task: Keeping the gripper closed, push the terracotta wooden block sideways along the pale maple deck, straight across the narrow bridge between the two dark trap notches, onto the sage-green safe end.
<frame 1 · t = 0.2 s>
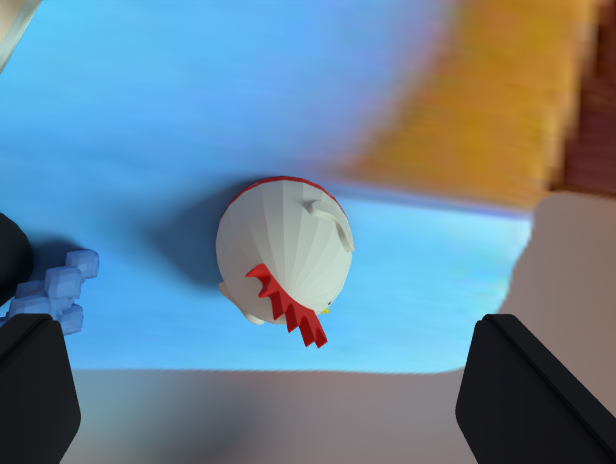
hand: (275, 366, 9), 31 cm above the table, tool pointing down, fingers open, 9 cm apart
kitchen timer: (284, 239, 41), on the table
grapes: (81, 276, 41), on the table
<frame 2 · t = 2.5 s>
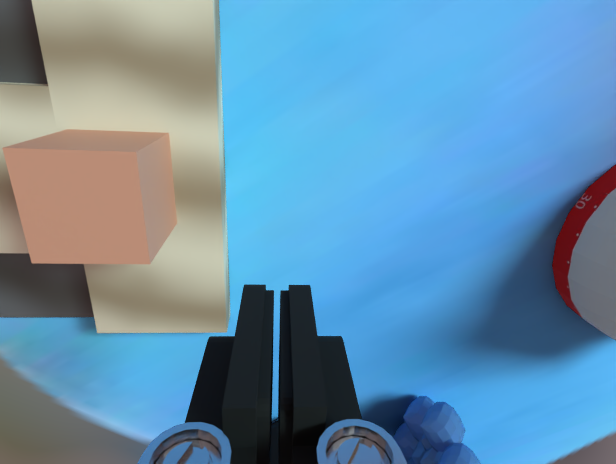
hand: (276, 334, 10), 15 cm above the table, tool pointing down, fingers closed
block: (125, 178, 21), point 2 cm above the table, touching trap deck
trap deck: (10, 166, 22), on the table
grapes: (416, 423, 32), on the table
coffee jar: (307, 451, 33), on the table
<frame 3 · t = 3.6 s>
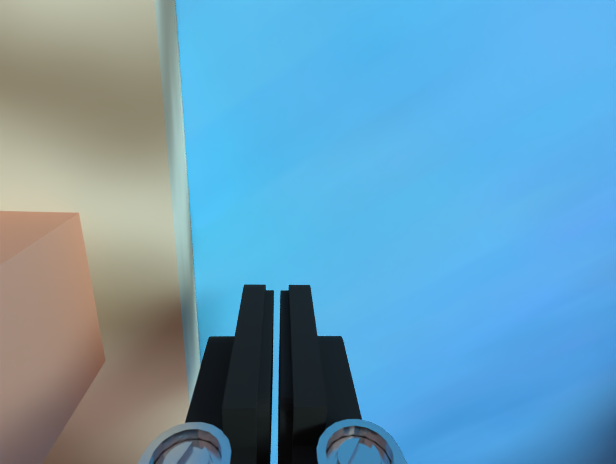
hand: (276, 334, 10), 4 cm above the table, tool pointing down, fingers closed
block: (4, 292, 11), point 2 cm above the table, touching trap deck
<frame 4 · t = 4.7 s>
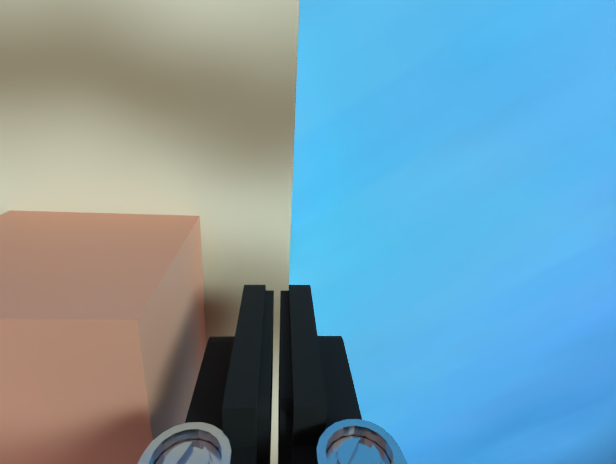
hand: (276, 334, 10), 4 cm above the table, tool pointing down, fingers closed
block: (118, 293, 11), point 2 cm above the table, touching gripper
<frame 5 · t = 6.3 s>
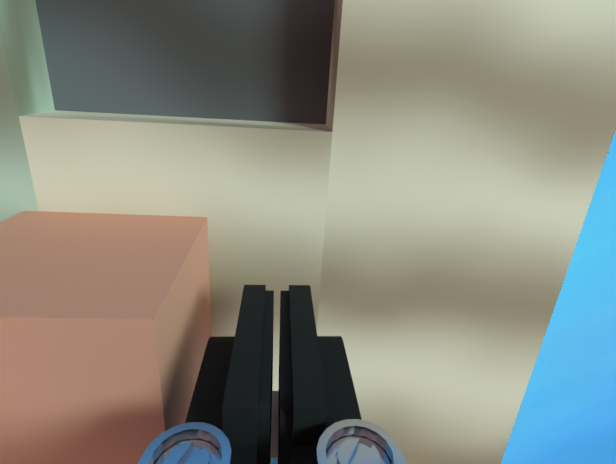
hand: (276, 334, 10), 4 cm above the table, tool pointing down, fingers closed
block: (126, 291, 12), point 2 cm above the table, touching gripper
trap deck: (202, 249, 14), on the table
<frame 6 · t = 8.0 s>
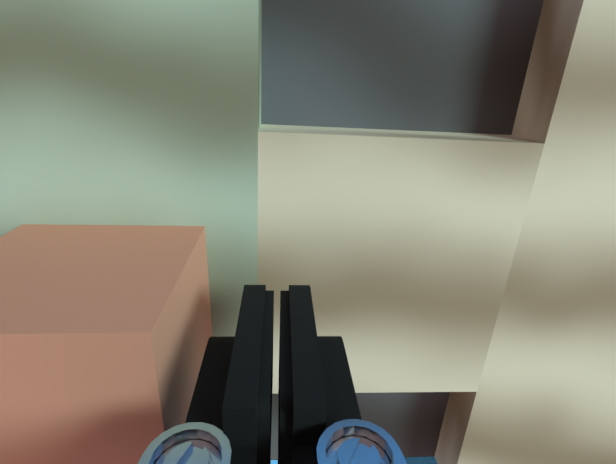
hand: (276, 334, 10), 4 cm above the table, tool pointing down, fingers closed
block: (127, 301, 12), point 2 cm above the table, touching gripper, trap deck
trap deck: (371, 255, 14), on the table
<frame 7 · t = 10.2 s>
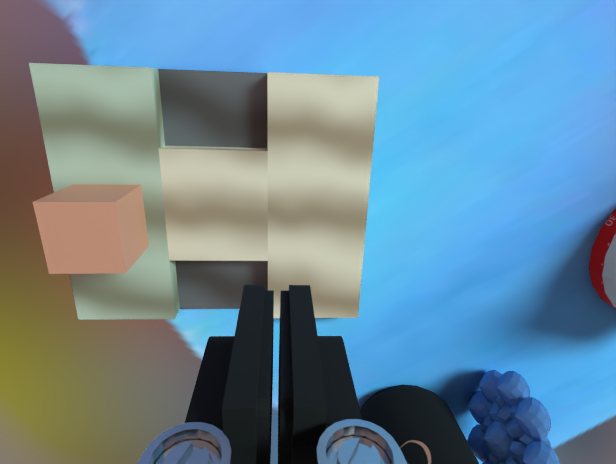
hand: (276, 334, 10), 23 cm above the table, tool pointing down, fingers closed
block: (112, 216, 30), point 2 cm above the table, touching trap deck
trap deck: (220, 201, 32), on the table
grapes: (484, 394, 42), on the table
coffee jar: (398, 418, 42), on the table
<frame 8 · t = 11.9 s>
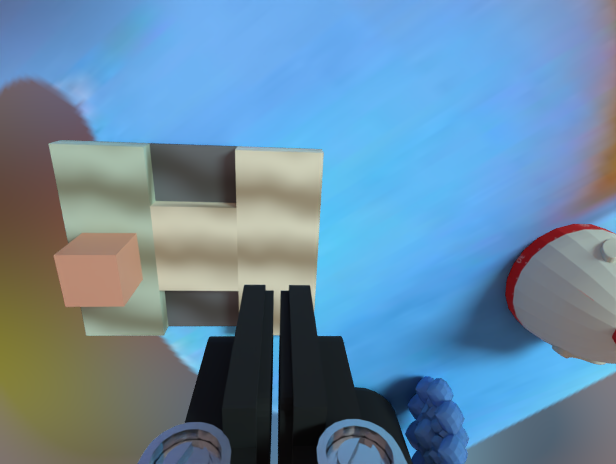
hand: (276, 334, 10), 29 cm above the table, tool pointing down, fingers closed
block: (113, 256, 38), point 2 cm above the table, touching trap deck
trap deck: (200, 242, 40), on the table
kitchen timer: (563, 279, 45), on the table
grapes: (423, 395, 50), on the table
coffee jar: (352, 414, 50), on the table
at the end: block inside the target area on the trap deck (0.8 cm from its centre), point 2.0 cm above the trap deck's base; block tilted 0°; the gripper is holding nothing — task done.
